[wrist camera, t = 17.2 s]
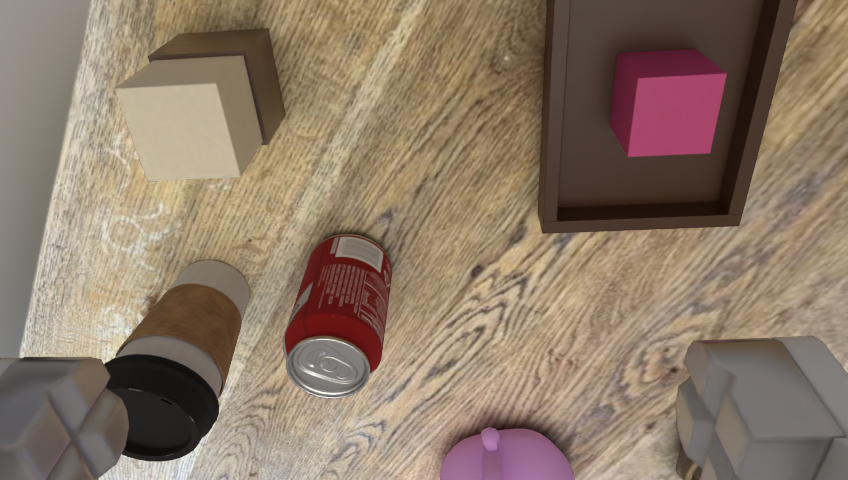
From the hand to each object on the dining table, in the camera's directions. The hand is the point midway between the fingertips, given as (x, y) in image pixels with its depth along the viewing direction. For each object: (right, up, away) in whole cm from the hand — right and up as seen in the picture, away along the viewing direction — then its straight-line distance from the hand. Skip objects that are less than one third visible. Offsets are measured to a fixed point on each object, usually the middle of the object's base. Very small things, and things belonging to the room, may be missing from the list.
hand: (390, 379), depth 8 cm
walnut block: (-13, +13, +33) cm, 37 cm away
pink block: (+16, +12, +31) cm, 37 cm away
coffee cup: (-17, -2, +43) cm, 46 cm away
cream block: (-13, +10, +28) cm, 33 cm away
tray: (+16, +13, +32) cm, 38 cm away
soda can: (-5, 0, +41) cm, 41 cm away
